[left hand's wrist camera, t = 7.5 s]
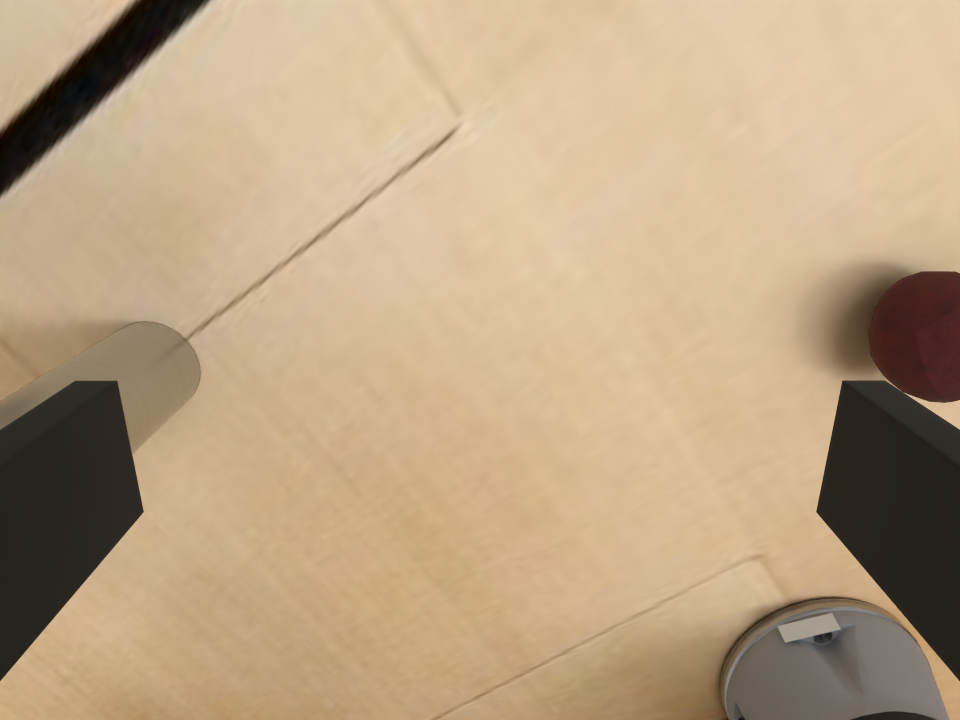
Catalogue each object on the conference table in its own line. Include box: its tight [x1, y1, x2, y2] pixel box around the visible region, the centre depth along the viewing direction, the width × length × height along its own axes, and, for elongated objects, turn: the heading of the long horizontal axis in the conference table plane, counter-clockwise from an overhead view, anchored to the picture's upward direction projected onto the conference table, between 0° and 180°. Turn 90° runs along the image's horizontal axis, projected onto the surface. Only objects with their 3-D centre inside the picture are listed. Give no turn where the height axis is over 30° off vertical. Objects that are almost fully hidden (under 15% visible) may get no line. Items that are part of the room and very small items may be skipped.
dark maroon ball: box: [869, 272, 960, 403], centre depth 39 cm, size 7×8×7 cm
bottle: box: [0, 322, 200, 454], centre depth 33 cm, size 6×6×24 cm
